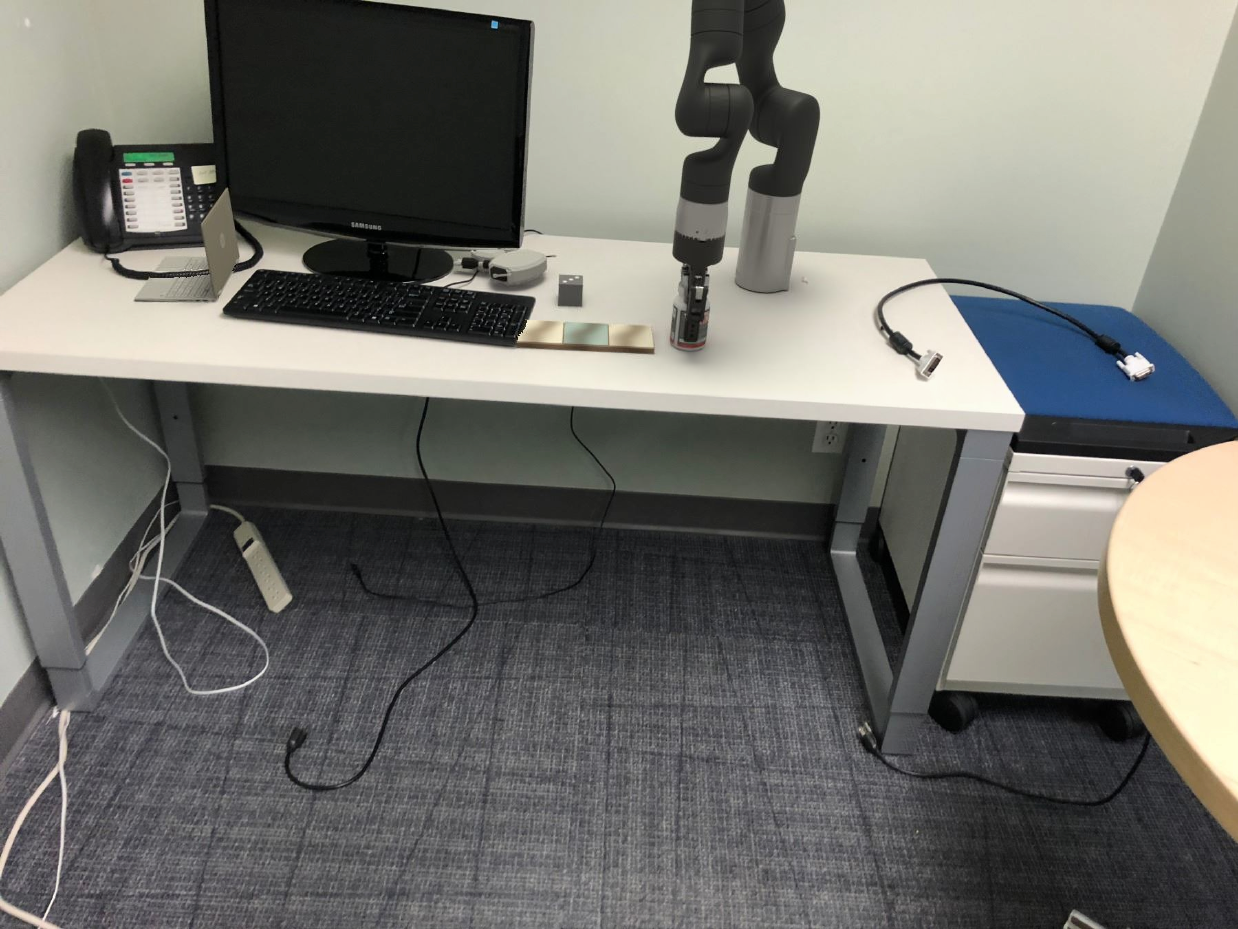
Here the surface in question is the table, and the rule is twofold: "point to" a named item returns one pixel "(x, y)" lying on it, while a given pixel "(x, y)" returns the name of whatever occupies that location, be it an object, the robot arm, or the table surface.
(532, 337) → the board
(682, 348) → the pill bottle
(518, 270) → the robot toy
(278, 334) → the table surface
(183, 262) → the laptop
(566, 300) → the die
